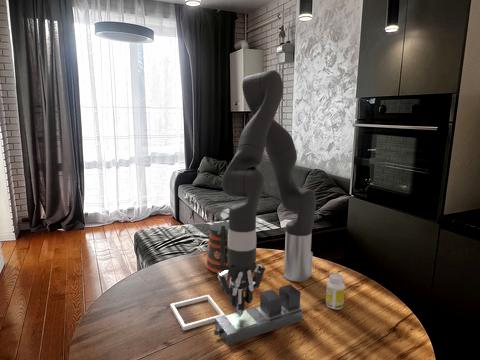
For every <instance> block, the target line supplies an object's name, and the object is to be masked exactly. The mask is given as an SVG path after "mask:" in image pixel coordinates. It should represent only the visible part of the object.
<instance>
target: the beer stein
mask: <svg viewBox="0 0 480 360" xmlns="http://www.w3.org/2000/svg"><path fill="white" fill-rule="evenodd" d="M208 229H209V230H210V232H209V237H208V252H207V255H206V268H207V269H208V270H209V271H210V272H213V273H214V274H215V273H216V274H217V273H218V272H220V273H222V272H224V271H226V268H227V266H228V231H229V221H228V220H227V219H225V220H224V221H220V222H216V223H212V224H211V225H210V226H209V228H208Z"/></svg>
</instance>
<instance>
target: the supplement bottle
mask: <svg viewBox="0 0 480 360" xmlns="http://www.w3.org/2000/svg"><path fill="white" fill-rule="evenodd" d="M345 287H346V286H345V283H344V276H343V275H341V274H340V273H330V274H329V280H328V281H327V282H326V292H325V305H326V306H327V308H329V309H333V310H341V309H343V307H344V304H345V303H344V302H345V290H346V289H345Z"/></svg>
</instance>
